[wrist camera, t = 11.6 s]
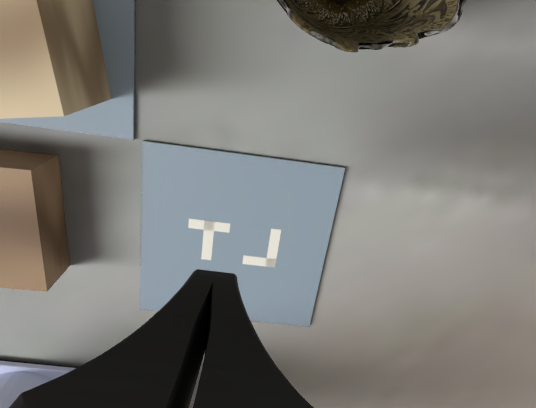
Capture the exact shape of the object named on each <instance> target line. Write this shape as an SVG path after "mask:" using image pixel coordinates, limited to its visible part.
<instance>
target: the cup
mask: <svg viewBox="0 0 536 408" xmlns="http://www.w3.org/2000/svg"><path fill="white" fill-rule="evenodd" d="M277 1H278V2H279V4H280V5H281V6H282V8H283V9H284V10H285V11H286V13H287V15H288V16H289V17H290V18H291V20H292V21H293V22H294V23H295V24H296V25H297V26H298V27H300V28H301V29H302V30H304V31H305V32H307V33H308V34H310V35H311V36H313V37H315V38H317V39H318V40H320V41H322V42H324V43H327V44H330V45H333V46H334V47H336V48H338V49H340V50H343V51H347V52H358V49H374V50H378V49H382V48H384V47H394V48H395V47H410V46H413V45H415V44H417V43H418V42H419V40H418V39H421V38H424V37H428V36H432V35H435V34H439V33H442V32H445V31H447V30H448V29H450V28H451V27H453V26H454V25H455V24H456V23H457V22H458V21H459V19H460V16H461V14H462V7H463V5H464V3H465V2H466V0H277Z"/></svg>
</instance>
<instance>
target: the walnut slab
mask: <svg viewBox="0 0 536 408" xmlns="http://www.w3.org/2000/svg"><path fill="white" fill-rule="evenodd" d="M69 266H70V262H69V253H68V243H67V233H66V224H65V214H64V204H63V195H62V185H61V176H60V166H59V156H58V155H51V154H41V153H31V152H22V151H12V150H2V149H0V288H12V289H23V290H35V291H48V290H49V289H50V288H51V286H52V285H53V284H54V283H55V282H56V281H57V280H58V279H59V277H60V276H61V275H62V274H63V273H64V272H65V271H66V269H67V268H68V267H69Z"/></svg>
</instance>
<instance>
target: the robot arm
mask: <svg viewBox="0 0 536 408" xmlns="http://www.w3.org/2000/svg"><path fill="white" fill-rule="evenodd" d="M204 352H205V358H204V363H203V367H202V372H201V376H200V381H199V385H198V389H197V393H196V398H195V402H194V406H193V408H313V407H312V406H311V405H310V404H309V403H308V402H307V401H306V400H305V399H304V398H303V397H302V396H301V395H300V394H299V393H298V392H297V391H296V390H295V389H294V387H293V386H292V385H291V384H290V382H289V381H288V380H287V379H286V377H285V376H284V375H283V374H282V372H281V371H280V370H279V369H278V367H277V366H276V365H275V363H274V362H273V360H272V359H271V357H270V356H269V354H268V353H267V351H266V349H265V348H264V346H263V345H262V343H261V341H260V339H259V337H258V336H257V334H256V332H255V330H254V328H253V326H252V323H251V321H250V319H249V317H248V314H247V312H246V309H245V307H244V304H243V301H242V298H241V295H240V291H239V287H238V281H237V276H236V275H235V274H234V273H225V272H217V271H209V270H200V269H197V270H195V271H194V272H193V273H192V274H191V276H190V277H189V279H188V280H187V281H186V282H185V284H184V285H183V286H182V287H181V288H180V289H179V291H178V292H177V293H176V294H175V295H174V296H173V297H172V298H171V299H170V300H169V301H168V302H167V303H166V304H165V305H164V306H163V307H162V308H161V309H160V310H159V311H158V312H157V313H156V314H155V315H154V316H153V317H152V318H151V319H149V320H148V321H147V322H146V323H145V324H144V325H142V326H141V327H140V328H139V329H137V330H136V331H135V332H134V333H132V334H131V335H130V336H128V337H127V338H126V339H124V340H123V341H121V342H120V343H118V344H117V345H115V346H114V347H112V348H111V349H109V350H108V351H106V352H105V353H103V354H102V355H100V356H98V357H96V358H95V359H93V360H91V361H89V362H88V363H86V364H84V365H82V366H80V367H78V368H70V367H60V366H50V365H39V364H29V363H18V362H8V361H0V408H189V405H190V401H191V398H192V394H193V391H194V387H195V384H196V380H197V377H198V373H199V370H200V366H201V363H202V359H203V356H204Z"/></svg>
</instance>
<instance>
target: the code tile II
mask: <svg viewBox="0 0 536 408" xmlns="http://www.w3.org/2000/svg"><path fill="white" fill-rule="evenodd" d="M93 4H94V9H95V15H96V20H97V25H98V31H99V36H100V41H101V47H102V52H103V57H104V63H105V68H106V73H107V79H108V84H109V89H110V95H111V99H110V100H108V101H105V102H102V103H99V104H97V105H94V106H91V107H88V108H86V109H83V110H80V111H77V112H75V113H72V114H69V115H66V116H59V117H32V118H5V119H0V122H3V123H10V124H18V125H25V126H33V127H40V128H48V129H55V130H63V131H70V132H78V133H85V134H93V135H100V136H108V137H115V138H123V139H130V140H134V76H135V0H93Z"/></svg>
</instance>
